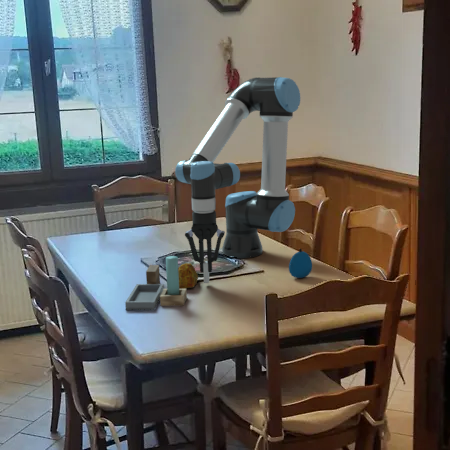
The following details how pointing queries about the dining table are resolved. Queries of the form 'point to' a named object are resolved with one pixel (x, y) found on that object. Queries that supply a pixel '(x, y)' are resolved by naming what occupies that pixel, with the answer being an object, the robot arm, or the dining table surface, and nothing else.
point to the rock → (187, 276)
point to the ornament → (300, 264)
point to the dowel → (172, 275)
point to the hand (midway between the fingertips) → (206, 281)
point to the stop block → (153, 274)
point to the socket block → (173, 298)
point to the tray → (144, 297)
